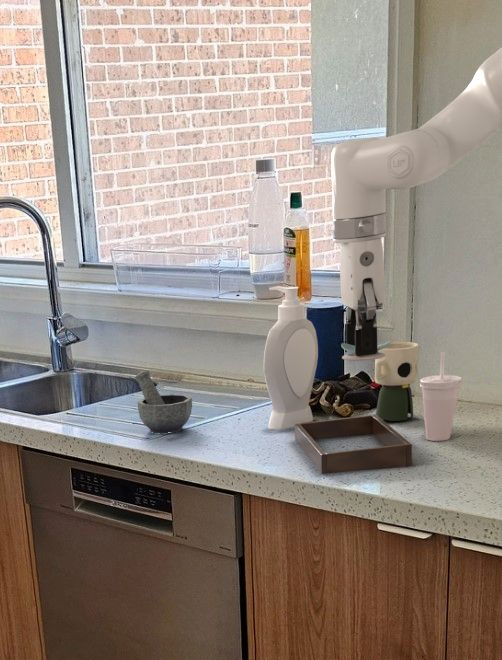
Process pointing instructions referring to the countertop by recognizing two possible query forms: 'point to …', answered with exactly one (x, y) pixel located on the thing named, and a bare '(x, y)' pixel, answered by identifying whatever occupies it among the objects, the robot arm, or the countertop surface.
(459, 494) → the countertop surface
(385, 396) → the character mug
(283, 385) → the soap bottle
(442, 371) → the smoothie
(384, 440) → the crate
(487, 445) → the countertop surface
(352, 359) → the pacifier
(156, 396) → the mortar and pestle
